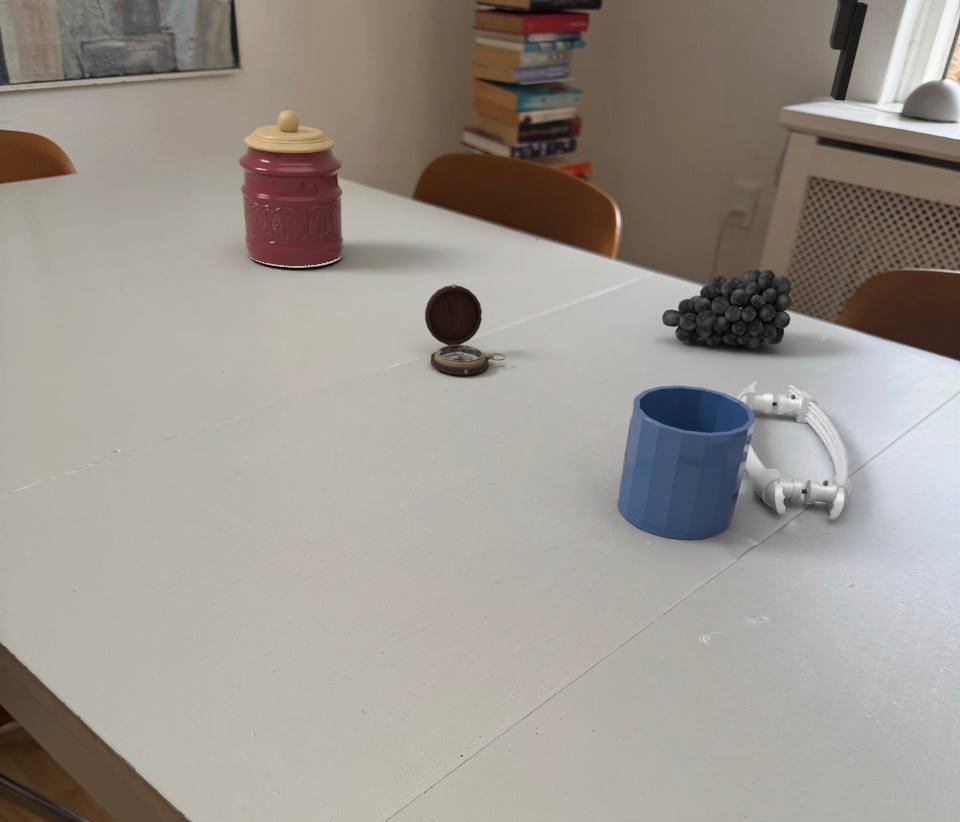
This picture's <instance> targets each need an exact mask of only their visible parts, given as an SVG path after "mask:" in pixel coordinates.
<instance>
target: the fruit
mask: <svg viewBox="0 0 960 822" xmlns="http://www.w3.org/2000/svg"><path fill="white" fill-rule="evenodd" d="M791 286H792V282H791V281H790V279H788V277H787V276H784V275H783V274H779V275H776V274H775V272H774V271H773V270H771V269H764V270H762V271H760V270H759V269H751V270H750V269H749V270H746V271H745V272H744V273H743V274H742V275H741V279H740V278H739V277H735V276H734V277H732V278H729V279H727V278H726V276H723V275H718V276H715V277H713V279H712V280H711V284H709V283H708V284H705V285H703V286H702V288H701V290H700V291H699V295H694V296H691V297H690V298H685V299H682V300H681V301H680V302H679V303H678V307H677V310H676V309H666V310H665V311H664V312H663V314H662V316H661V319H662V324H663V325H664V326H666V327H670V328H675V331H674V334H675V337H676V338H677V340H678V341H681V342H686V341H689V342H691V343H695V342H697V341H698V340H699V339H700V338H704V339H705V340H706V343H707V344H708V345H709V346H710V347H715V346H718V344H719V343H720V341H721V340H722V341H723V342H724V344H728V345H731V346H735V347H738V346H740V345H744V347H745V348H746V349H748V350H756V348H758V347H759V346H760V345H762V344H764V343H765V342H767V343H768V344H769V345H772V346H775V345H779V344H780V343H782V342H783V338H784V336H785V329H786V328H787V327H788V326H789V325H790V322H791V320H792V318H791V315H790V314H789V313H788V312H787V310H791V311H795V312H796V311H797V308H796V307H794V306H791V304H792V299H791V297H790V296H789V295H790V293H791Z"/></svg>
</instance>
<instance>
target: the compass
mask: <svg viewBox="0 0 960 822" xmlns="http://www.w3.org/2000/svg"><path fill="white" fill-rule="evenodd" d="M482 313H483V310H482V306H481V303H480V301H479V299H478V298H477V296H476V295H475V294H474V293H473V292H472V291H471V290H469V289H468V288H466V287H464V286H462V285H456V284H453V283H452V284H451V285H446V286H443V287H440V288H439V289H437V290H436V291H435V292H434V293H433V294H432V295H431V296H430V298H429V299H428V302H427V303H426V306H425V310H424V321H425V324H426V328H427V330H428V331H429V333H430V335H431V336H432V337H433V338H434V339H436V340H437V341H438V342H439V343H442V344H443V345H445V346H442V347H440V348H438V349H437V350H436V351H434V352H433V353H431V355H430V364H431V366H433V368H434V369H436V370H437V371H439V372H442V373H445V374H449V375H454V376H455V375H456V376H469V375H470V376H471V375H476V374H480V373H482V372H484V371H486V370H487V368H489V361H491V360H492V361H504V360H505V359H506V356H505V355H504V354H502V353H497V352H496V353H495V352H494V353H493V352H492V353H489V354H485V353H484V352H483V351H481V350H480V349H479V348H477V347H474V346H471V345H466V344H465V343H467V342H468V341H470V340H471V339H472V338H473V337H474V336H475V335H476V334H477V333H478V331H479V329H480V327H481V323H482V321H483V318H482ZM494 356H502V357H503V358H494Z"/></svg>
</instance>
